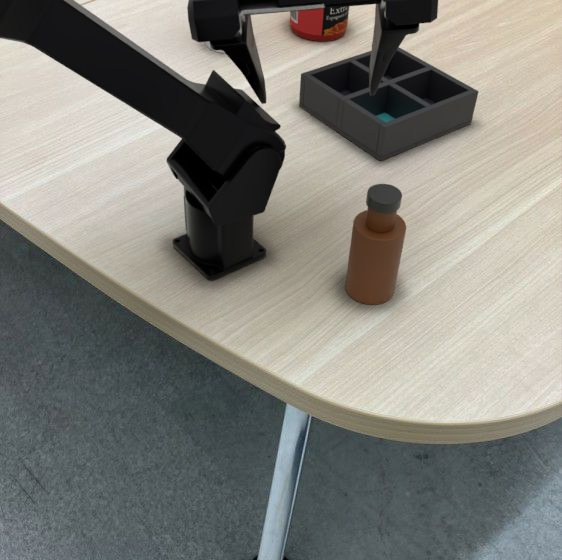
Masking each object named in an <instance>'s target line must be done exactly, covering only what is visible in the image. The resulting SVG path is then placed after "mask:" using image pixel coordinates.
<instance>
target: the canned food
mask: <svg viewBox="0 0 562 560" xmlns="http://www.w3.org/2000/svg"><path fill="white" fill-rule="evenodd" d="M349 14H350V6H347V7H336V8H324V9H313V10H301V11H290V12H289V24H290V25H289V26H290V29H291V31H292V32H293V33H294V34H295V35H296V36H298V37H300V38H302V39H306V40H310V41H314V42H315V41H316V42H329V41H335V40H338V39H339V38H341V37H343V36H344V35H345V33H346V31H347V29H348V24H349V23H348V22H349Z"/></svg>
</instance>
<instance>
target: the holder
mask: <svg viewBox="0 0 562 560" xmlns="http://www.w3.org/2000/svg"><path fill="white" fill-rule="evenodd" d="M370 59H371V50H368V51H366V52H363V53H359V54H356V55H354V56H350V57H348V58H345V59H341V60H338V61H335V62H332V63H329V64H327V65H324V66H320V67H318V68H314V69H311V70H308V71H305V72H302V73H301V74H300V82H299V83H300V84H299V99H298V101H299V102H298V107H299V108H301V109H303V110H304V111H305V112H306V113H308V114H310V115H311V116H313V117H314V118H316V119H317V120H319V121H320V122H321V123H323V124H325V125H326V126H328V127H329V128H331V130H333V131H335V132H336V133H338V134H339V135H340V136H343V137H344V138H345V139H346V140H348V141H350V142H351V143H353V144H355V146H357V147H358V148H360V149H362V150H363V151H364V152H366V153H367V154H369V155H371V156H372V157H374V158H375V159H377V160H378V161H379V162H382V161H384V160H387V159H390V158H392V157H395V156H397V155H399V154H402V153H404V152H406V151H409V150H411V149H413V148H416V147H418V146H421V145H424V144H426V143H428V142H430V141H433V140H435V139H438V138H441V137H442V136H445V135H447V134H450V133H453V132H455V131H457V130H459V129H463V128H464V127H467V126H470V125H471V124H472V122H473V117H474V112H475V108H476V104H477V100H478V96H479V90H477V89H475V88H474V87H472V86H470V85H469V84H466V83H465V82H463V81H461V80H459V79H457V78H456V77H454V76H453V75H450V74H449V73H446V72H445V71H443V70H441V69H439V68H437V67H435V66H434V65H432V64H430V63H429V62H427V61H425V60H423V59H421V58H419V57H417V56H416V55H414V54H412V53H410V52H408V51H407V50H405V49H403V48H401V47H400V46H399V47H398V49H397V50H396V52H395V54H394V55H393V57H392V58H391V60H390V62H389V64H388V66H387V69H386V71H385V73H384V75H383V77H382V80H381V82H380V84H379V86H378V89H377V91H376V93H375V95H370V91H369V67H370Z"/></svg>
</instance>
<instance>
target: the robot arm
mask: <svg viewBox="0 0 562 560" xmlns="http://www.w3.org/2000/svg"><path fill="white" fill-rule="evenodd" d="M368 5H375V9H374V10H375V11H374V13H375V14H374V26H373V35H372V41H371V50H370V51H371V59H370V67H369V91H370V95H375V93H376V91H377V89H378V86H379V84H380V82H381V80H382V77H383V75H384V73H385V71H386V69H387V66H388V64H389V62H390V60H391V58H392V57H393V55H394V54H395V52H396V50H397V49H398V47H399V48H400V47H401V44H402V43H403V41H404V40H405V38H406V36H408V35H414V34H416V33H418V32H419V31H420V24H430V23H433V22H434V21H435V20H437V19H438V11H439V0H188V1H187V6H186V7H187V8H186V9H187V20H188V26H189V31H190V36H191V40H193V41H195V42H197V43H207V42H208V41H210V47H211V49H213V50H223V51H224V52H225V53H224V54H226V56H227V57H228V58H229V59H230V61H232V63H233V64H234V65H235V66H236V68H237V69H238V70H239V71H240V72H241V74H242V75H243V77H244V78H245V80H246V81H247V83H248V84H249V86H250V88H251V89H252V91H253V93H254V94H255V95H256V97H257V99H258V101H259V102H260V103H261V105H266V104H267V89H266V80H265V75H264V71H263V67H262V63H261V59H260V54H259V51H258V47H257V42H256V38H255V34H254V29H253V22H252V16H255V15H256V16H257V15H266V14H277V13H290V11H301V10H313V9H324V8H336V7H347V6H349V7H357V6H359V7H360V6H368ZM0 39H2V40H8V41H11V42H12V41H13V42H18V43H23V44H25V45H28V46H31V47H32V48H34V49H36V50H38V51H40V52H41V53H42V54H44V55H45V56H47V57H49V58H50V59H52V60H53V61H55V62H57V63H58V64H60V65H62V66H63V67H65V68H67V69H69V70H70V71H71V72H73V73H75V74H77V75H78V76H80V77H81V78H82V79H85V80H86V81H88V82H89V83H90V84H93V85H94V86H96V87H98V88H99V89H101V90H102V91H104V92H106V93H107V94H109V95H111V96H112V97H114V98H116V99H117V100H119V101H120V102H122V103H124V104H125V105H127V106H129V107H130V108H132V109H134V110H135V111H137V112H138V113H139V114H142V115H143V116H145V117H147V118H148V119H150V120H151V121H153V122H155V123H156V124H158V125H159V126H161V127H163V128H164V129H166V130H167V131H169V132H171V133H172V134H174V135H176V136H177V137H179V138H180V140H179V142H178V143H177V145H175V147H174V148H173V150H172V151H171V152H170V154H169V155H168V156H167V157H166V160H165V161H166V164H167V165H168V168H169V170H170V171H171V173H172V175H173V177H174V178H175V179H176V180H177V181H179V183H180V184H181V185H182V186H183V207H184V224H185V231H186V233H185V234H182V235H180V236H178V237H175V238H173V240H172V247H174V248H175V250H177V251H178V252H179V253H180V254H181V255H182V256H183V257H184V258H185V259H186V260H187V262H189V263H190V264H191V265H192V266H193V267H194V268H195V269H197V271H198V272H200V273H201V274H202V275H203V276H204V277H205V279H208V280H210V281H211V280H212V281H213V280H215V279H218V278H220V277H222V276H225V275H227V274H229V273H231V272H234V271H236V270H238V269H241V268H242V267H245V266H247V265H250V264H251V263H254V262H257V261H258V260H260V259H263V258H265V257H266V256H267V248H265V246H263V245H262V244H261V243H260V242H258V241H257V240H256V239H255V238H254V216H256V215H260V214H262V213H263V214H264V212H265V211H266V208H267V206H268V203H269V201H270V198H271V195H272V192H273V189H274V187H275V184H276V181H277V179H278V175H279V173H280V171H281V169H282V168H283V166H284V165H283V164H284V161H285V157H286V149H287V144H286V142H285V140H284V139H283V138H282V136H280V134H278V133H277V131H278V130H280V129H281V124H280V123H279V122H278V121H277V120H276V119H274V118H273V116H272V115H270V114H269V113H268V112H267V111H266V110H265V109H264V108H263V107H262V106H261V105H259V104H258V103H257V102H256V101H255V100H254V99H253V98H252V97H250V95H249V94H247V93H246V92H245V91H244V89H240V88H234V87H233V86H232V85H231V84H230V83H229V82H228V81H226V80H225V78H224V77H222V76H221V75H220V74H219V73H218V72H217V71H216V70H214V69H213V70H212V71H211V73H210V75H209V77H208V79H207V81H206V82H205V84H204V83H199V82H193V81H192V80H188V79H187V78H185V76H183V75H181V74H180V73H178V72H177V71H176V70H174V69H173V68H171V67H170V66H169V65H167V64H165V63H164V62H162V61H161V60H160V59H158V58H157V57H155V56H154V55H153V54H151V52H148V51H147V50H145V49H144V48H143V47H141V46H140V45H139V44H137V43H136V42H134V41H133V40H131V39H130V38H128V37H127V36H125V34H122V33H121V32H120V31H119V30H117V29H115V28H114V27H113V26H111V25H110V24H109V23H107V22H105V20H102V19H101V18H100V17H99V16H97V15H95V14H94V13H93V12H92V11H90V10H88V9H87V8H86V7H85V6H83V5H81V4H80V3H79V2H77V1H76V0H0ZM211 49H210V50H211ZM213 50H212V51H213Z"/></svg>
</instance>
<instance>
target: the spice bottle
mask: <svg viewBox="0 0 562 560" xmlns="http://www.w3.org/2000/svg"><path fill="white" fill-rule="evenodd" d="M402 199H403V193H402V191H401V190H400V189H399V188H398V187H396V186H394V185H392V184H388V183H377V184H373V185H371V186H370V187H369V188H368V189H367V191H366V197H365V205H366V206H367V209H366V210H363V211H361V212H359V213H358V214H357V215H356V216H355V217H354V219H353V222H352V227H351V229H352V230H351V237H350V244H349V251H348V252H349V253H348V259H347V268H346V276H345V283H344V284H345V285H344V289H345V291H346V293H347V295H348V296H349V297H350V298H351V299H353V300H354V301H356V302H358V303H361V304H365V305H380V304H383V303H386V302H388V301H389V300H390V299H392V297H393V296H394V294H395V290H396V285H397V279H398V274H399V270H400V263H401V258H402V254H403V253H402V252H403V248H404V242H405V237H406V232H407V223H406V222H405V220H404V219H403V217H401V215H399V214H397V213H398V211H399V210H400V208H401V205H402Z"/></svg>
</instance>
